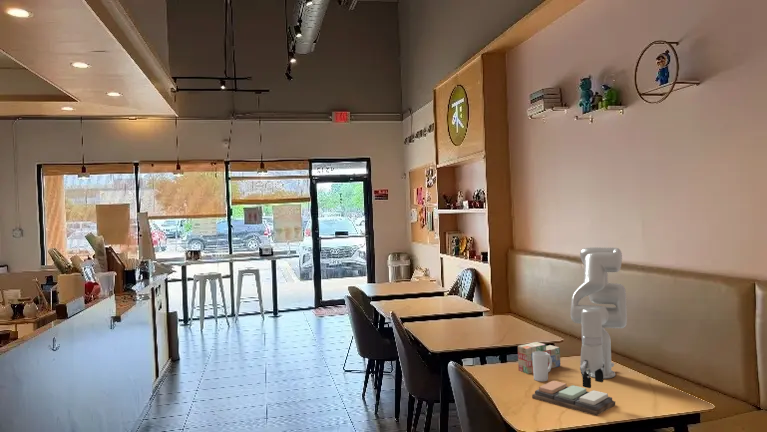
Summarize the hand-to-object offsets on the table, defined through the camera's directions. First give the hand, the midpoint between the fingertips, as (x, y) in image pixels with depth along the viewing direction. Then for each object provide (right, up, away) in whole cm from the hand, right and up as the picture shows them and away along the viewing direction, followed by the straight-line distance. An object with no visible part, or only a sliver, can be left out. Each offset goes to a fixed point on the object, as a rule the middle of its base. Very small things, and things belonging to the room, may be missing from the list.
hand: (593, 384), depth 216 cm
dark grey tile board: (-5, -9, +8) cm, 13 cm away
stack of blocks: (-6, -9, +53) cm, 54 cm away
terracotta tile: (-11, -6, +14) cm, 19 cm away
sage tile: (-5, -6, +8) cm, 11 cm away
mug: (-9, -9, +37) cm, 39 cm away
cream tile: (+1, -6, +1) cm, 6 cm away
